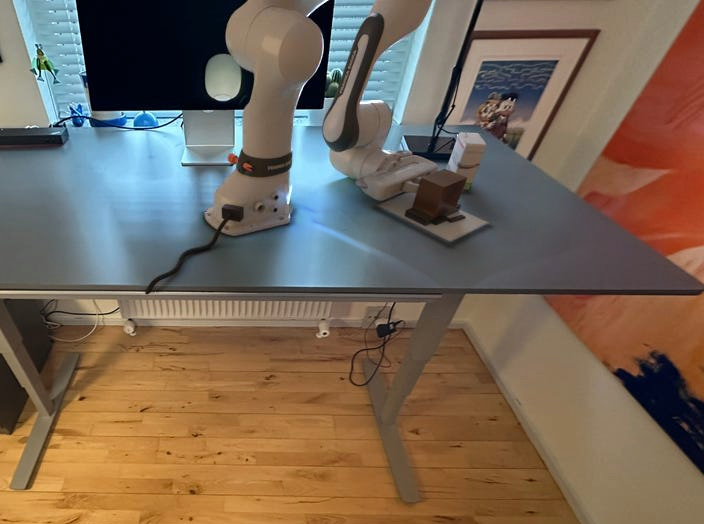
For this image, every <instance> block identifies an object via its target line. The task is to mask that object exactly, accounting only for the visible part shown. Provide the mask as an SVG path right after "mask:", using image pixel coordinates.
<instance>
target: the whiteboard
mask: <svg viewBox="0 0 704 524" xmlns="http://www.w3.org/2000/svg"><path fill="white" fill-rule="evenodd" d="M415 197H416V193H409V192H405V193H403V194H401V195H400V194H399V195H398V196H394V198H393V197H392V198H389V199H388V200H384V201H383V202H381V203H378V204H376V206H377V207H379V208H381V209H382V210H385V211H387V212H388V213H391V214H393V215H395V216H397V217H399V218H401V219H403V220H404V221H407V222H408V223H411V224H413V225H415V226H416V227H419V228H421V229H423V230H425V231H427V232H429V233H431V234H434V235H435V236H437V237H439V238H442V239H444V240H445V241H447V242H449V243H451V242H454V241H455V240H457V239H460V238H461V237H463V236H466V235H468V234H470V233H472V232H474V231H475V230H478V229H480V228H482V227H484V226H486V225H488V224H490V222H489V221H488V220H485V219H483V218H481V217H478V216H476V215H473V214H471V213H469V212H467V211H465V210H462V209H461V208H460V209H459V211H458V212H456V213H453V214H451V215H449V216H447V217H448V218H452V217H455V216H459V215H464V216H465V219H462V220H459V221H455V222H452V223H450V222H448V221H445V222H443V223H441V224H438V225H434V224H432V223H431V224H429V225H427V226H424V225H422V224H420V223H418V222H416V221H414V220H412V219H410V218H407V217H405V216H404V215H405V212H406V210H408V209H410V208H412V206H413V203H414V200H415Z"/></svg>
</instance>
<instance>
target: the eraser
mask: <svg viewBox="0 0 704 524" xmlns="http://www.w3.org/2000/svg"><path fill="white" fill-rule="evenodd" d="M467 178H468V177H465V176H462V175H460V174H457V173H455V172H452V171H449V170H447V168H443V169H440V170H437V172H435V173H432V174H430V175H427V176H425V177H422V178H421V181H420V184H419V187H418V190H417V193H416V197H415V200H414V203H413V206H412V208H410V209H408V210H406V212H405V215H404V216H405V217H407V218H410V219H412V220H414V221H416V222H418V223H420V224H422V225H424V226H427V225H429V224H431V223H432V222H433V221H435V220H437V219H439V218H442V217H444V216H446V217H447V216H449V215H451V214H453V213H456V212H458V211H459V209H460V210H461V207H462V205H461V204H459V200H460V198H461V195H462V193H463V191H464V189H463V188H464V185H465V183H466V180H467Z"/></svg>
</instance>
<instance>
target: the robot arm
mask: <svg viewBox="0 0 704 524" xmlns="http://www.w3.org/2000/svg"><path fill="white" fill-rule="evenodd" d="M327 1H328V0H246V2H245V3H243V4H242V5H241V6H240V7H239V8H237V9H236V10H234V12H233V13H232V14H231V15H230V18H229V20H228V22H227V24H226V29H225V43H226V48H227V51H228V53H229V54H230V56H231V57H232V58H233V60H234V61H235V62H236V64H238V65H239V66H240V67H241V68H242V69H244V70H246V71H249V72H250V73H253V79H254V80H253V87H252V91H251V96H250V100H249V101H248V103H247V104H246V105H245V107H244V108H243V111H242V118H241V119H242V123H241V125H242V127H241V128H242V147H241V149H240V151H239V154H238V155H235V153H233V152H230V153H229V154H228V156H227V162H228V163H230V164H232V165H234V166H235V169H233V171H232V172H231V173H230V174H229V175H228V176H227V178H226V179H224V181H223V182H222V183H221V184H220V185H219V186H218V187H217V188H216V189H215V191H214V195H213V203H212V206H210V207H208V208H207V209H208V210H206V209H205V210H206V211H207V212H205V211H204V219H205V221H206V222H207V224H209V225H210V226H211V227H212V228H214V229H215V232H214V235H213V237H212V239H211V241H210V242H208V243H206V244H205V245H203V246H197V247H193V248H189V249H187V250H185V251H183V252H182V253H181V255H179V258H178V261H177V263H176V265H175V266H174V267H173V268H171V270H169V271H167V272H164V273H162V274H160V275H158V276H156V277H155V278H153V279H152V280H151V281H150V283H149V284H148V286H147V287H146V290H145V292H144V294H145V295H150V294H151V292H152V290H153V289H154V287H155V286H156V285H157V284H158V283H159V282H160V281H163V280H164V279H167V278H169V277H171V276H173V275H175V274H176V273H177V272H178V271H179V270H180V269H181V268H182V264H183V262H184V260H185V258H186V257H187V256H188V255H190V254H193V253H199V252H203V251H204V252H205V251H206V250H209V249H211V248H212V247H214V245H215V244H216V243H217V241H218V239H219V236H220V234H221V233H223V234H225V235H228V236H232V237H238V236H243V235H246V234H251V233H254V232H258V231H262V230H266V229H267V230H268V229H271V228H275V227H278V226H283V225H287V224H290V223H291V214H292V213H293V210H294V207H293V202H292V190H293V184H291V169H292V167H293V151H294V149H293V148H292V142H293V132H294V123H295V113H296V109H297V106H298V102H299V99H300V96H301V94H302V91H303V88H304V86H305V85H306V83H307V82H308V81H309V80H310V79H311V78H312V77H313V76H314V75H315V73H316V72H317V70H318V68H319V67H320V64H321V61H322V58H323V54H324V38H323V37H324V36H323V33H322V30H321V28H320V27H319V26H318V24H316V23H315V22H314V21H313V20H312V19H311V18H309V16H310V15H311V14H312V13H313V12H314V11H315V10H316V9H318V8H319V7H320V6H322V5H323V4H324V3H326V2H327ZM432 3H433V0H374V3H373V5H372V7H371V9H370V11H369V14H368V15H367V17H366V18H365V19H364V20H363V21H362V23H361V24H360V27H359V28H358V31H357V32H356V36H355V37H354V40H353V43H352V45H351V48H350V51H349V54H348V57H347V60H346V63H345V65H344V68H343V71H342V74H341V77H340V80H339V83H338V86H337V89H336V92H335V94H334V97H333V99H332V102H331V104H330V106H329V108H328V110H327V111H326V113H325V115H324V118H323V122H322V125H321V126H322V127H321V133H322V138H323V141H324V142H325V145H326V146H327V147H328V148H329V152H328V156H329V157H328V158H329V162H330V164H331V166H332V167H333V168H334V169H335V170H336V171H337V172H339V173H340V174H342V175H344V176H346V177H348V178H350V179H352V180H356V181H355V185H356V186H357V187H359V188H361V191H362V192H363V193H364V194H366V195H367V196H369V197H370V198H372V199H373V200H376V201H386V200H387V199H391V198H393V197H396V196H397V195H400V194H402V193H404V192H405V193H408V192H409V193H417V190H418V187H419V184H420V181H421V178H422V177H425V176H427V175H430V174H432V173H435V172H437V171H439V170H438V169H439V165H438V164H437V163H436V162H434V161H432V160H430V159H427V158H425V157H423V156H419V155H415V154H414V155H413V151H411V150H408V149H403V150H402V149H401V150H389V149H387V150H385V149H383V147H384V145H385V144H386V141H387V138H388V137H389V133H390V130H391V128H392V126H393V125H392V124H393V114H392V110H391V108H390V105H389V104H388V103H387V102H386V101H384V100H380V99H377V100H376V99H375V100H367V101H366V100H365V101H362V99H363V96H364V94H365V92H366V88H367V86H368V83H369V80H370V78H371V75H372V72H373V70H374V68H375V66H376V63H377V62H378V60H379V59H380V58H381V57H382V55H383V54H384V53H385V52H386V51H388V50H389V49H390V48H392V47H393V46H394V45H396V44H397V43H399V42H400V41H402V40H404V39H406V38H407V37H409V36H411V35H412V34H413V33H414V32H415V31H416V30H418V28H419V27H421V25H422V24H423V22H424V20H425V18H426V16H427V15H428V12H429V11H430V9H431V6H432Z"/></svg>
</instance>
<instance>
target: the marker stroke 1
mask: <svg viewBox="0 0 704 524" xmlns="http://www.w3.org/2000/svg"><path fill="white" fill-rule="evenodd" d="M447 219H449V218H448V217H446V216H444V217H442V218H439V219H437V220H435V221H433V222H432V224H434V225H438V224H441V223H443V222H445V221H447Z"/></svg>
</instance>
